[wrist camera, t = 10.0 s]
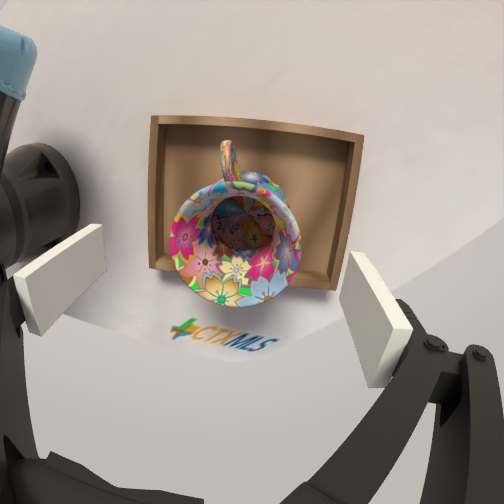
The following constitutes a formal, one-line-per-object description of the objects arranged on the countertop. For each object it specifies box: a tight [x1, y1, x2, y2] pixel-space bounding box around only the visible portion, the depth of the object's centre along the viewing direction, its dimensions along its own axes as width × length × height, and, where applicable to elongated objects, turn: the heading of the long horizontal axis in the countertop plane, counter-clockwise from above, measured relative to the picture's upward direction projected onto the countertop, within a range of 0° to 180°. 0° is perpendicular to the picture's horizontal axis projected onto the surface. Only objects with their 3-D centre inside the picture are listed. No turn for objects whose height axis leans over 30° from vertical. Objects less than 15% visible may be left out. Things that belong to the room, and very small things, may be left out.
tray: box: [148, 115, 364, 291], centre depth 30 cm, size 20×16×3 cm
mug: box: [170, 140, 302, 307], centre depth 26 cm, size 12×9×11 cm
